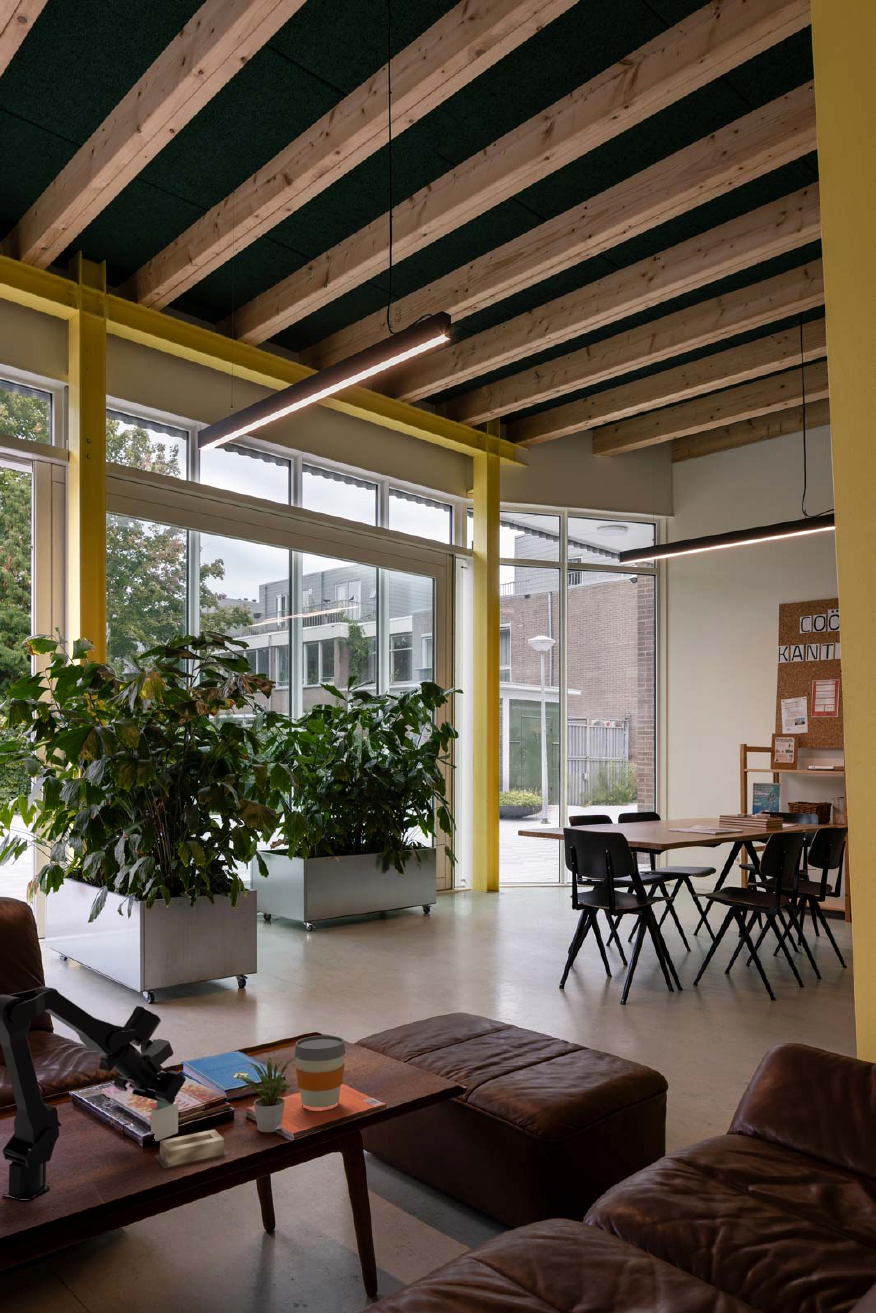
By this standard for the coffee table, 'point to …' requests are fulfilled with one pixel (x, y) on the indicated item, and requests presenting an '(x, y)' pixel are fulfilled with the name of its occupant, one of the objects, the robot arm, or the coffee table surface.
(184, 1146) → the slot rack
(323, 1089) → the reusable coffee cup
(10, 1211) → the coffee table surface
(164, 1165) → the mat
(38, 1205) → the coffee table surface
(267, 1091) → the house plant
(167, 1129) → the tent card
